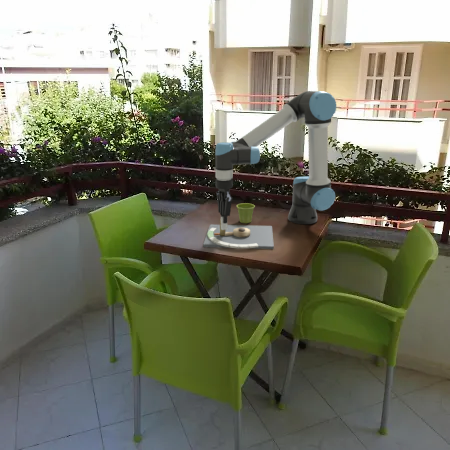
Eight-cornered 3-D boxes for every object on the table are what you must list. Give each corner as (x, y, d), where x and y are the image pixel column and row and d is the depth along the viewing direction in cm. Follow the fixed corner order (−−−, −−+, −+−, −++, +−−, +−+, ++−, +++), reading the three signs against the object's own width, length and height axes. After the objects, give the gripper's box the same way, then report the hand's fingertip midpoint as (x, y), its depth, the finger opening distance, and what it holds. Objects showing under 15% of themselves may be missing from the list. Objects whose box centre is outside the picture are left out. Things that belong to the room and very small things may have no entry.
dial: (248, 230, 186) (249, 216, 183) (251, 236, 178) (251, 222, 176) (213, 232, 184) (213, 218, 182) (214, 238, 177) (214, 224, 174)
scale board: (271, 228, 193) (272, 224, 192) (273, 251, 166) (274, 247, 165) (210, 226, 195) (210, 222, 195) (202, 249, 168) (202, 245, 168)
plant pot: (253, 225, 197) (253, 209, 194) (235, 224, 199) (235, 208, 196) (255, 219, 206) (255, 203, 203) (238, 218, 208) (238, 202, 205)
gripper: (238, 181, 166) (237, 232, 173) (225, 175, 177) (225, 223, 185) (222, 182, 163) (222, 234, 171) (210, 176, 174) (211, 225, 182)
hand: (224, 229), depth 178 cm, fingers closed
